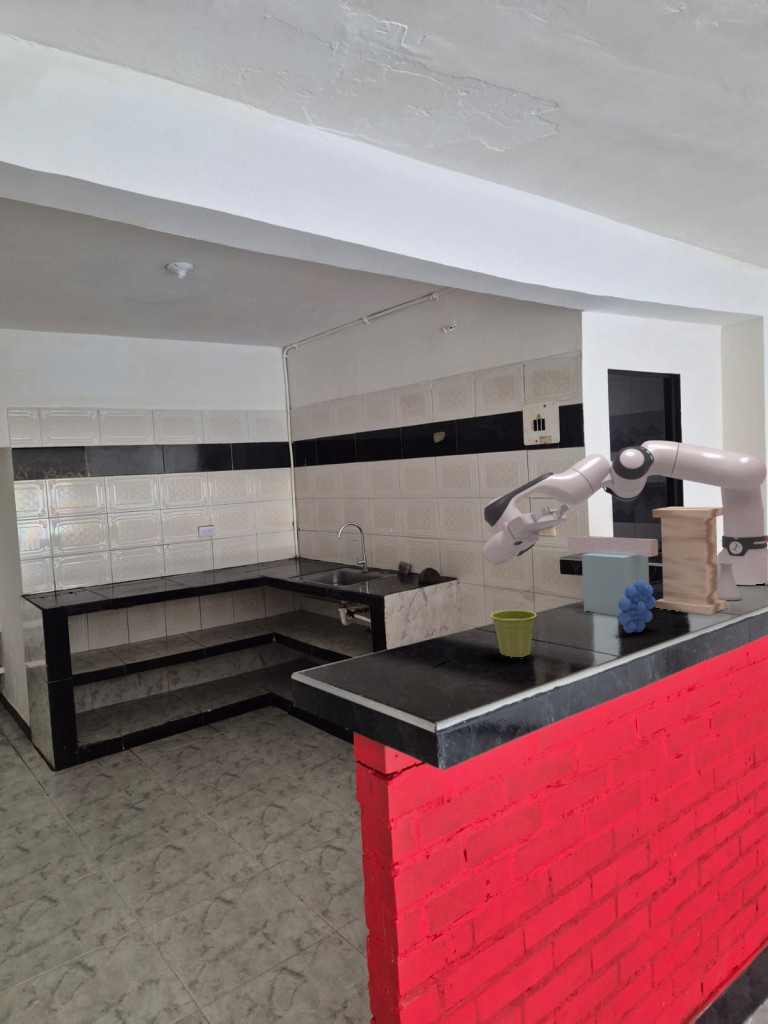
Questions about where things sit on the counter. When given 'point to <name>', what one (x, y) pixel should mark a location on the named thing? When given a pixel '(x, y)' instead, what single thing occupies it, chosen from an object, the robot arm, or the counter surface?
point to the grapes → (636, 606)
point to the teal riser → (610, 579)
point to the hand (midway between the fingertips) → (557, 507)
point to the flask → (727, 583)
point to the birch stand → (690, 559)
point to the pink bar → (613, 545)
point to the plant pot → (514, 631)
